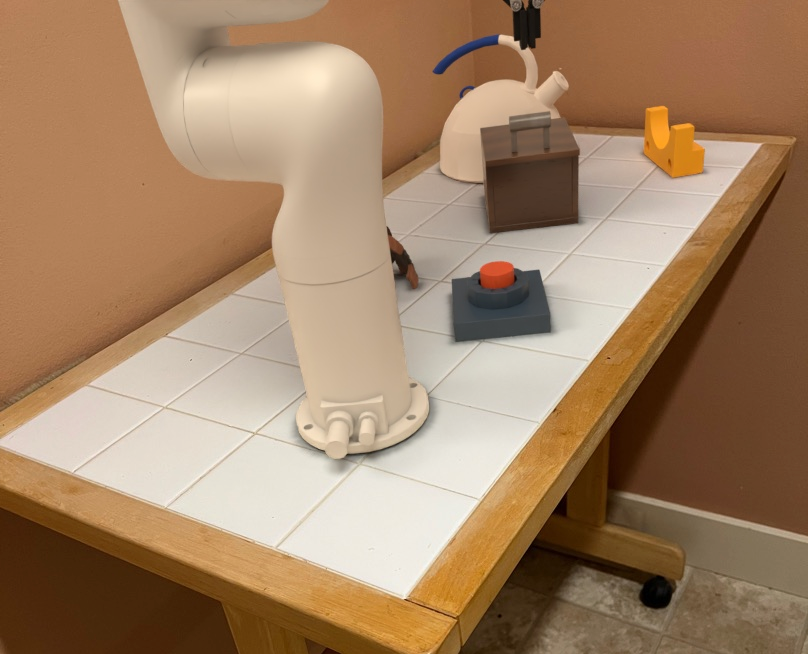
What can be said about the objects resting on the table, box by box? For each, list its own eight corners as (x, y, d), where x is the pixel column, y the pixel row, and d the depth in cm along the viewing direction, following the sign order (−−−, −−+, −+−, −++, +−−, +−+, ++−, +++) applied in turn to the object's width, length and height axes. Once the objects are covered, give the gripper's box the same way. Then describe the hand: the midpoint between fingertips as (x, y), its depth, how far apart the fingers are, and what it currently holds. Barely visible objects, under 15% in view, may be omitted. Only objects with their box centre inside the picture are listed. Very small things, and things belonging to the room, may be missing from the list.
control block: (550, 332, 84) (550, 297, 82) (455, 342, 86) (451, 308, 83) (539, 287, 93) (539, 254, 91) (453, 296, 94) (450, 263, 92)
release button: (515, 288, 85) (515, 273, 84) (481, 292, 86) (480, 277, 85) (513, 274, 88) (512, 259, 87) (480, 278, 89) (478, 263, 88)
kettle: (556, 182, 119) (555, 45, 107) (423, 185, 125) (408, 56, 114) (579, 139, 133) (580, 14, 122) (458, 143, 140) (448, 25, 129)
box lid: (579, 155, 100) (580, 112, 97) (485, 167, 101) (483, 125, 98) (564, 123, 111) (564, 83, 108) (480, 133, 112) (477, 95, 109)
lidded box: (578, 223, 106) (578, 153, 101) (489, 233, 107) (485, 165, 102) (565, 187, 117) (564, 123, 111) (484, 197, 118) (480, 134, 112)
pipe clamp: (702, 172, 114) (707, 124, 110) (672, 177, 114) (676, 129, 110) (671, 148, 124) (674, 103, 120) (643, 153, 124) (645, 108, 120)
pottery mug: (423, 303, 95) (381, 254, 89) (359, 336, 99) (316, 292, 94) (425, 238, 102) (386, 190, 96) (366, 272, 106) (325, 228, 101)
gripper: (449, -140, 81) (464, 63, 92) (601, -165, 79) (597, 44, 91) (447, -142, 87) (462, 49, 98) (589, -165, 85) (587, 31, 97)
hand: (527, 46), depth 94 cm, fingers closed
